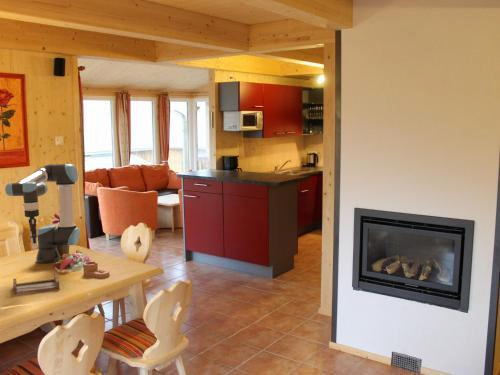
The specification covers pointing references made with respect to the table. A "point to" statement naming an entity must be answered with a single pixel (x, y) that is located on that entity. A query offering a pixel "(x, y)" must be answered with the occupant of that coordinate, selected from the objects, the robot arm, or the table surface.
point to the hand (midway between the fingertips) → (34, 245)
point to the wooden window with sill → (36, 286)
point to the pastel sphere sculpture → (71, 262)
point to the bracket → (94, 270)
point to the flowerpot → (61, 248)
